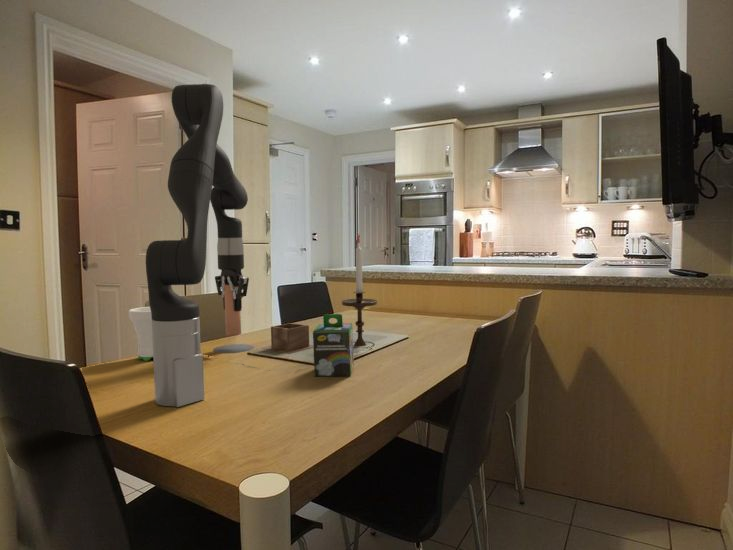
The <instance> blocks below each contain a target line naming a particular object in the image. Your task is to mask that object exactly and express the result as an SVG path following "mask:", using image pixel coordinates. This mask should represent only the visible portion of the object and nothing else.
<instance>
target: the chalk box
mask: <svg viewBox="0 0 733 550" xmlns="http://www.w3.org/2000/svg"><path fill="white" fill-rule="evenodd" d="M322 318H323V323H322V324H318V325H317V326H315V329H314V330H313V331H312V343H313V344H312V345H313V348H312V349H313V369H314V373H313V374H314V377H351V376H352V373H353V370H354V367H355V363H354V360H355V359H354V348H353V347H354V343H353V342H354V336H353V335H354V333H353V323H351V322H350V323H345V322H344V323H343V314H341V313H329V314H328V313H327V314H325V313H324V314H323V317H322ZM331 319H335V320H336V321H337V322H335V323H333V322H330V321H329V320H331Z"/></svg>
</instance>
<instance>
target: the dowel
mask: <svg viewBox="0 0 733 550" xmlns="http://www.w3.org/2000/svg"><path fill="white" fill-rule="evenodd" d="M234 288H238V286H235V287H234ZM237 292H238V291H236V293H237ZM224 293H225V311H224V315H225V316H224V317H225V320H224V321H225V335H226V336H229V337H231V336H239V335H241V334H242V323H241V322H242V321H241V319H242V318H241V317H242V316H241V311H234V300H233V299H234V297H233V292H232V291H231V290H230V285H224Z"/></svg>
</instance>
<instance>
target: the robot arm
mask: <svg viewBox="0 0 733 550" xmlns="http://www.w3.org/2000/svg"><path fill="white" fill-rule="evenodd" d="M223 99H224V97H223V94H222V91H221V90H220V89H219V87H218V86H216V85H215V84H211V83H208V84H207V83H197V84H180V85H175V86H174V88H173V89H172V91H171V107H172V110H173V113H174V116H175V118H176V120H177V121H178V123H179V125H180V127H181V129H182V130H183V132H184V134H185V136H186V137H187V140H186V141H185V143H183V145H181V146H180V148H179V149H177V151H176V152H175V153H174V155H173V157H172V159H171V161H170V165H169V171H168V179H167V190H168V192H169V195H170V197H171V199H172V200H173V203H174V204H175V205H176V207H177V209H178V210H179V212H180V213H181V215H182V216H183V219H184V221H185V223H186V226H187V236H186V239H169V240H167V239H166V240H165V239H164V240H153V241H151V242H150V243H149V245H148V246H147V248H146V254H145V273H146V283H147V290H148V291H147V292H148V303H149V304H148V305H149V307H150V309H151V317H152V340H153V357H152V358H153V379H154V380H153V381H154V382H153V383H154V398H155V399H154V400H155V404H156V405H158V406H161V407H163V406H164V407H175V408H179V407H183V406H187V405H190V404H192V403H196V402H199V401H204V400H205V380H204V379H205V377H204V374H205V373H204V359H203V358H204V356H203V354H202V350H201V347H202V345H201V326H200V325H201V322H200V321H201V320H200V306H199V304H198V303H197V302H196V301H194V300H191V299H186V298H185V297H183V296H181V295H179V294H178V293H176V292H175V291H174V290H173V288H172V286H189V285H190V286H191V285H198V284H200V283H201V282H202V281H203V278H204V275H205V271H206V262H207V238H208V237H207V236H208V221H209V220H208V219H209V210H210V203H211V207H212V209H213V213H214V216H215V220H216V225H217V244H216V246H217V247H216V249H217V250H216V251H217V254H216V255H217V269H218V270H220V271H221V272H220V275H216V276H214V280H215V286H216V290H217V294H218V296H221V298H222V302H223V303H222V304H223V310H225V293H224V285H230V290H231V291H232V292H233V297H234V299H233V300H234V311H240V312H241V311H242V303H243V302H242V299H243V298H244V297H246V296H247V294H248V288H249V287H248V286H249V280H250V278H249V277H248V276H244V275H243V273H242V270H244V268H245V260H244V259H245V255H244V253H245V251H244V241H243V240H244V239H243V224H242V223H243V222H242V220H241V219H239V218H237V217H232V216H228V215H227V213H226V210H227V211H228V210H230V211H232V210H233V211H234V210H242V209H244V208H245V207H246V206H247V204H248V198H249V197H248V192H247V191H246V189H245V187H244V185H243V184H242V183H241V181H240V180H239V179H238V177H237V175H236V174H235V173H234V171H233V170H234V169H233V168H232V167H233V166H232V164H231V161H230V158H229V156H228V154H227V153H226V151H225V150H224V149H223V148H222V147H221V146H220V145H219V144H218V140H219V139H218V138H219V135H220V130H221V127H222V126H221V125H222V121H223V117H224V116H223V115H224V100H223ZM235 286H238V288H234V287H235ZM236 291H238V292H237V293H236Z"/></svg>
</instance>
